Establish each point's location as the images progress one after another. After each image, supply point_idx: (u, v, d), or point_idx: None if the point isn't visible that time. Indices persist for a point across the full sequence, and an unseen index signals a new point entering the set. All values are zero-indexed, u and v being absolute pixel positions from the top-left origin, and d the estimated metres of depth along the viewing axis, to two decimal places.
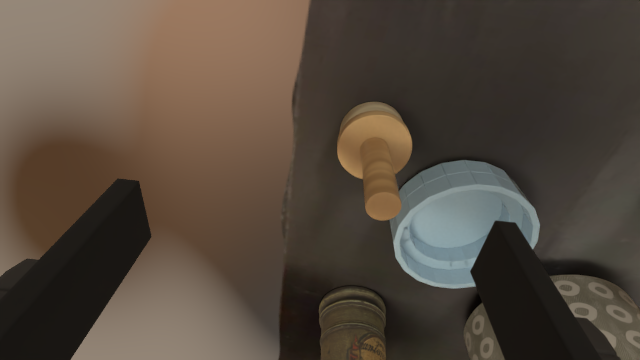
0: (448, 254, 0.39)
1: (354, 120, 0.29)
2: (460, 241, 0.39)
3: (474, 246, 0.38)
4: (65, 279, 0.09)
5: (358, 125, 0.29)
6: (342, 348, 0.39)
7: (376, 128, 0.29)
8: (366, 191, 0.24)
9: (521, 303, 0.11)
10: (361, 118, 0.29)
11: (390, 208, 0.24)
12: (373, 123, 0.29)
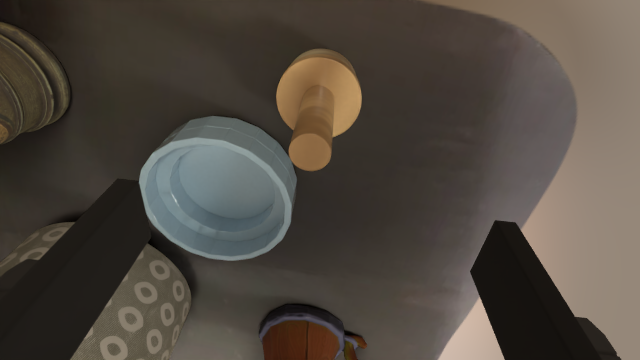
0: (176, 186, 0.34)
1: (355, 77, 0.25)
2: (193, 192, 0.35)
3: (193, 206, 0.35)
4: (65, 279, 0.09)
5: (349, 81, 0.25)
6: None
7: (345, 101, 0.26)
8: (318, 126, 0.20)
9: (521, 303, 0.11)
10: (357, 84, 0.25)
11: (307, 160, 0.20)
12: (351, 98, 0.26)
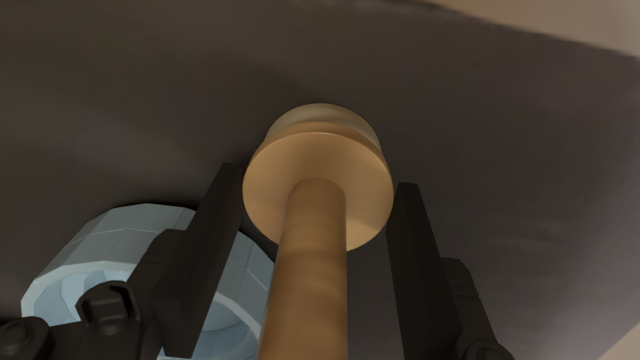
0: None
1: (384, 165, 0.14)
2: None
3: None
4: (210, 243, 0.11)
5: (373, 172, 0.14)
6: None
7: (364, 202, 0.15)
8: (318, 337, 0.08)
9: (405, 248, 0.12)
10: (388, 177, 0.14)
11: None
12: (376, 197, 0.15)
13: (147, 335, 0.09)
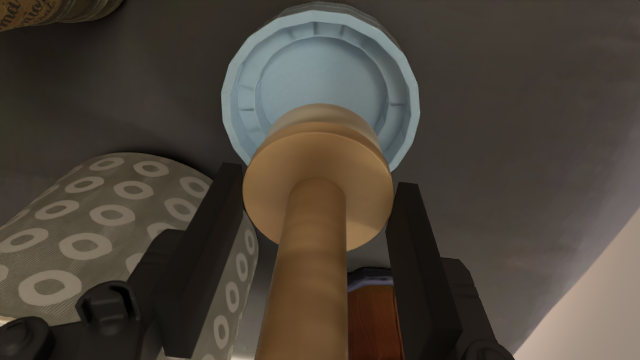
0: (257, 103, 0.27)
1: (384, 164, 0.14)
2: (274, 115, 0.28)
3: None
4: (210, 243, 0.11)
5: (373, 172, 0.14)
6: None
7: (365, 202, 0.15)
8: (318, 338, 0.08)
9: (405, 248, 0.12)
10: (388, 177, 0.14)
11: None
12: (376, 197, 0.15)
13: (147, 335, 0.09)
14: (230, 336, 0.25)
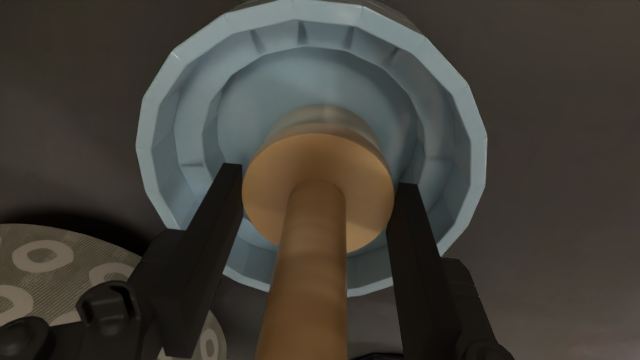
0: (212, 151, 0.17)
1: (384, 166, 0.14)
2: (242, 166, 0.18)
3: None
4: (210, 243, 0.11)
5: (373, 174, 0.14)
6: None
7: (365, 204, 0.15)
8: (318, 343, 0.08)
9: (405, 248, 0.12)
10: (388, 178, 0.14)
11: None
12: (376, 199, 0.14)
13: (147, 335, 0.09)
14: None
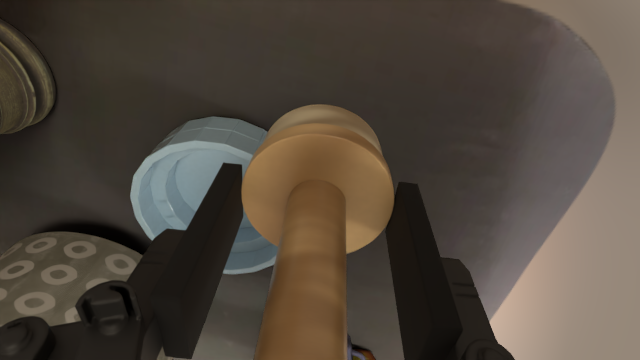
0: (172, 193, 0.31)
1: (384, 166, 0.14)
2: (191, 199, 0.32)
3: (191, 215, 0.32)
4: (210, 243, 0.11)
5: (373, 174, 0.14)
6: None
7: (365, 205, 0.15)
8: (317, 343, 0.08)
9: (405, 248, 0.12)
10: (388, 179, 0.14)
11: None
12: (376, 199, 0.14)
13: (147, 335, 0.09)
14: None
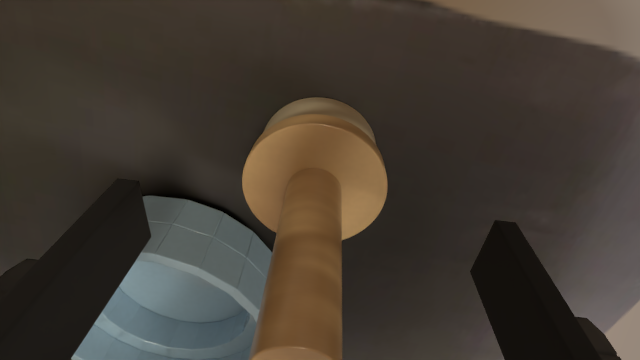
0: None
1: (377, 154, 0.14)
2: (133, 291, 0.24)
3: (134, 311, 0.24)
4: (65, 279, 0.09)
5: (367, 162, 0.15)
6: None
7: (359, 192, 0.15)
8: (314, 310, 0.09)
9: (521, 303, 0.11)
10: (381, 166, 0.15)
11: None
12: (370, 186, 0.15)
13: None
14: None
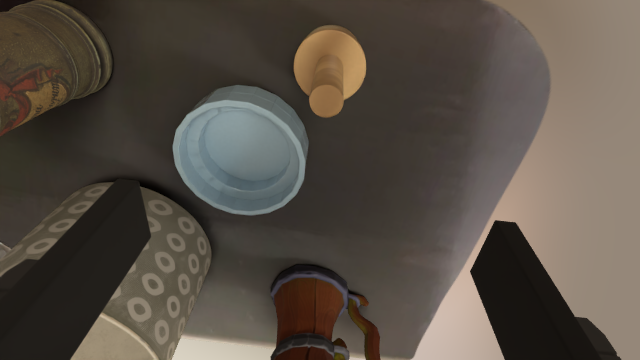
0: (202, 149, 0.38)
1: (360, 47, 0.30)
2: (216, 156, 0.40)
3: (216, 169, 0.40)
4: (65, 279, 0.09)
5: (355, 51, 0.30)
6: (38, 55, 0.27)
7: (352, 68, 0.31)
8: (333, 80, 0.25)
9: (521, 303, 0.11)
10: (362, 53, 0.30)
11: (324, 108, 0.25)
12: (357, 65, 0.31)
13: None
14: (181, 310, 0.37)
